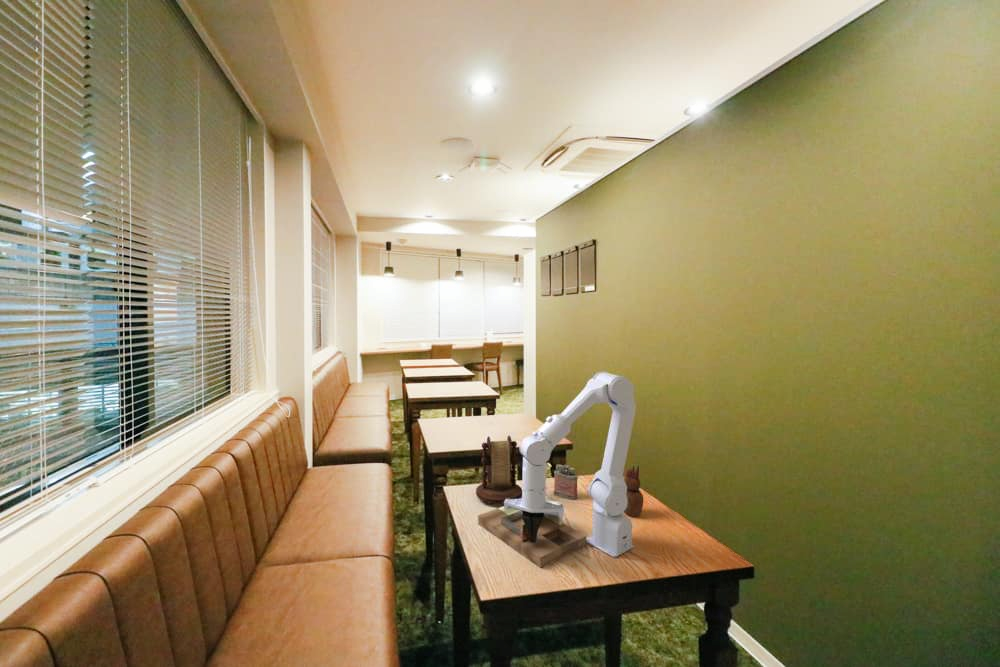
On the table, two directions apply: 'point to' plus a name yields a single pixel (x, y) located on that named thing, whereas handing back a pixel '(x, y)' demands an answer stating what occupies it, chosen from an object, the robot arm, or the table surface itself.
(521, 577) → the table surface
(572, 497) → the lighter
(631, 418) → the robot arm
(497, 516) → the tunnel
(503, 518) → the carriage
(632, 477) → the wooden figurine
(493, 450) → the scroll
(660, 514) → the table surface
